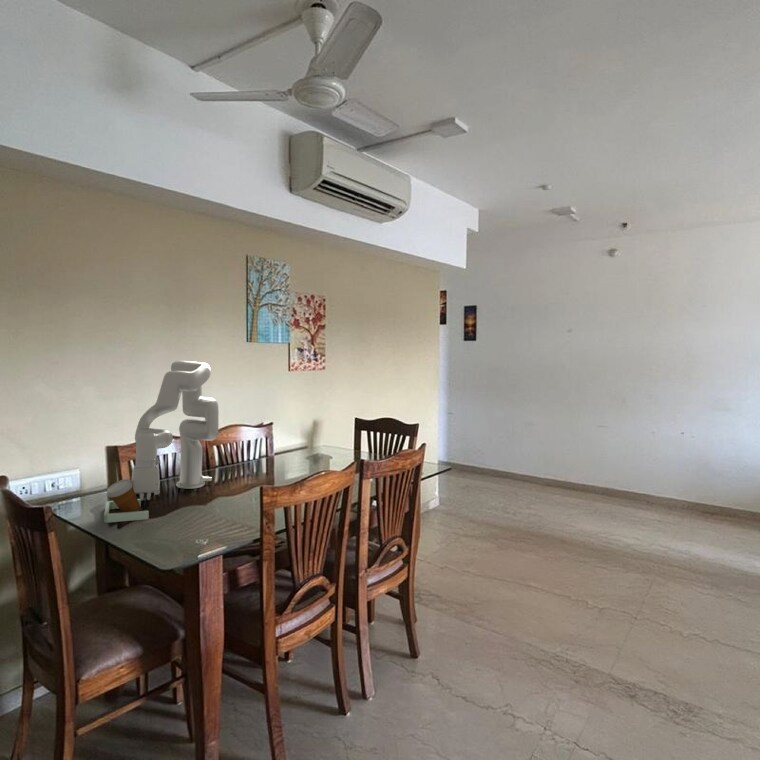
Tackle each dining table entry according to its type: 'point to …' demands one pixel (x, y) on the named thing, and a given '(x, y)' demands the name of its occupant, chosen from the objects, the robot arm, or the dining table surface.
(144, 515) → the bay
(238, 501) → the dining table surface
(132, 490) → the disposable coffee cup
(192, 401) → the robot arm
